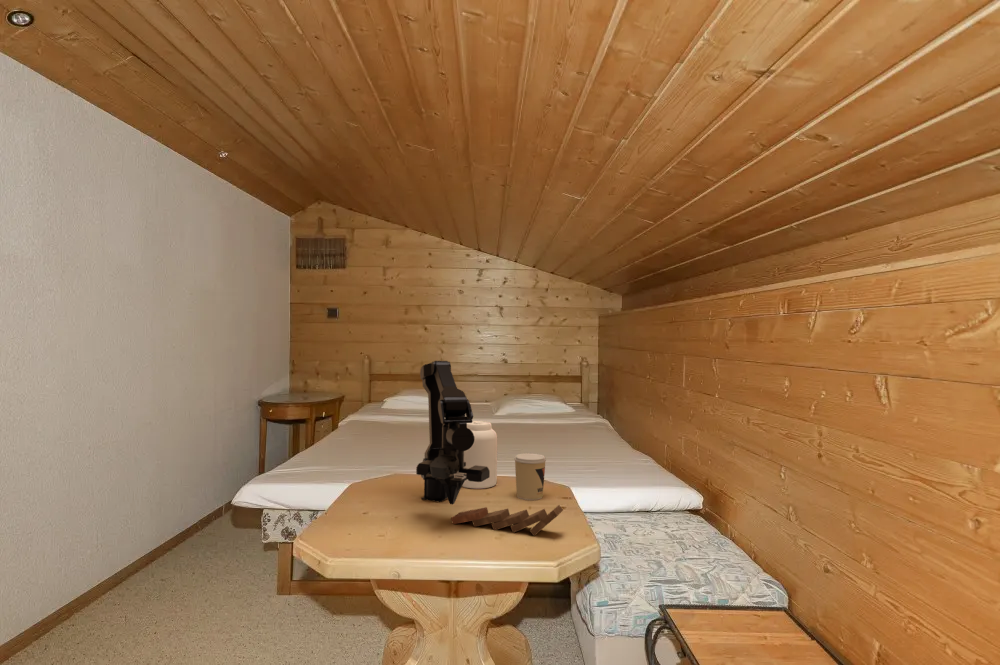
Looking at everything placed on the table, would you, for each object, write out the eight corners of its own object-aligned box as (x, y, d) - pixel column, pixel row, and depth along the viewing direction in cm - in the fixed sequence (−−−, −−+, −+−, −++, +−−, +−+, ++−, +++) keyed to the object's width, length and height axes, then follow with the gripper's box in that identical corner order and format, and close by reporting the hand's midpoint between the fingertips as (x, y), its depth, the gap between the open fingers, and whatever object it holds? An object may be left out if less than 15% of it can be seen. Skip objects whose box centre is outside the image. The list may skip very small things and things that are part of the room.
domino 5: (529, 530, 136) (553, 510, 134) (536, 524, 141) (559, 504, 138) (533, 536, 135) (557, 515, 133) (540, 529, 140) (563, 510, 138)
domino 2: (472, 520, 142) (500, 514, 139) (480, 514, 146) (508, 508, 143) (474, 526, 142) (502, 520, 139) (482, 521, 146) (509, 514, 143)
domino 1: (451, 517, 143) (478, 512, 140) (459, 512, 148) (486, 507, 145) (452, 524, 143) (480, 519, 140) (461, 518, 148) (488, 513, 145)
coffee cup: (543, 502, 164) (543, 460, 164) (511, 499, 166) (512, 458, 166) (547, 493, 173) (547, 454, 173) (516, 491, 175) (517, 452, 175)
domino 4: (510, 526, 138) (537, 514, 135) (517, 520, 142) (544, 508, 140) (513, 532, 137) (540, 520, 135) (520, 526, 142) (547, 514, 139)
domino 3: (491, 524, 140) (519, 515, 137) (499, 518, 144) (526, 509, 142) (493, 530, 139) (522, 521, 137) (501, 524, 144) (529, 515, 141)
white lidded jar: (457, 479, 188) (458, 419, 188) (494, 479, 189) (495, 419, 190) (458, 489, 176) (459, 425, 176) (498, 489, 177) (499, 425, 177)
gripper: (405, 445, 143) (404, 507, 143) (472, 452, 136) (471, 517, 136) (427, 438, 153) (426, 496, 153) (490, 444, 146) (489, 505, 146)
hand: (452, 504), depth 147 cm, fingers closed
